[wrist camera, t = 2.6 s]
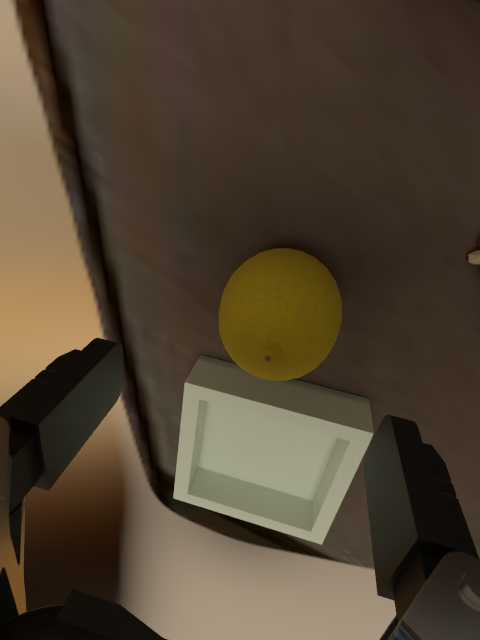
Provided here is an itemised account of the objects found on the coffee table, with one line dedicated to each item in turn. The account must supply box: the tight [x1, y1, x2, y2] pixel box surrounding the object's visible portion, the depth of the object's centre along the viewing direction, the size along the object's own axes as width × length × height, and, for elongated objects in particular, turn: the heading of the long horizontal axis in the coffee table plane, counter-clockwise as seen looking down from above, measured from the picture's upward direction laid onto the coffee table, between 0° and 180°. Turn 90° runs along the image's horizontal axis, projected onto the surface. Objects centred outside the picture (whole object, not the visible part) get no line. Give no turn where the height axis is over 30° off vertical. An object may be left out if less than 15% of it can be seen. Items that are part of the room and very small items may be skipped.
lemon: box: [218, 248, 342, 381], centre depth 17 cm, size 6×6×8 cm
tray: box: [173, 355, 374, 544], centre depth 25 cm, size 11×11×3 cm
